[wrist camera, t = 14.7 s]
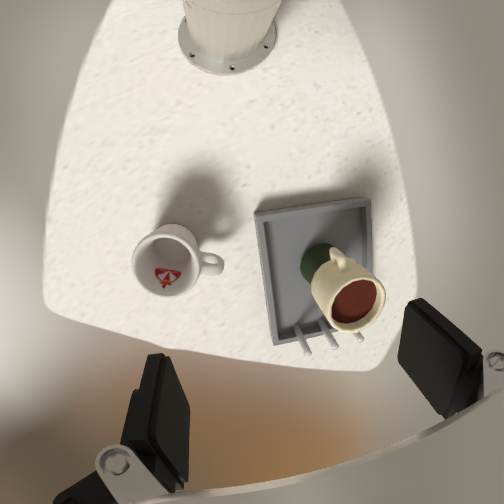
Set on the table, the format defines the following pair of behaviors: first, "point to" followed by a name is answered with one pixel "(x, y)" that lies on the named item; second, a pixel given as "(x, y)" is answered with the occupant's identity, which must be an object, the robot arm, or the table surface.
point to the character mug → (342, 288)
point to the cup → (172, 262)
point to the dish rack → (289, 259)
